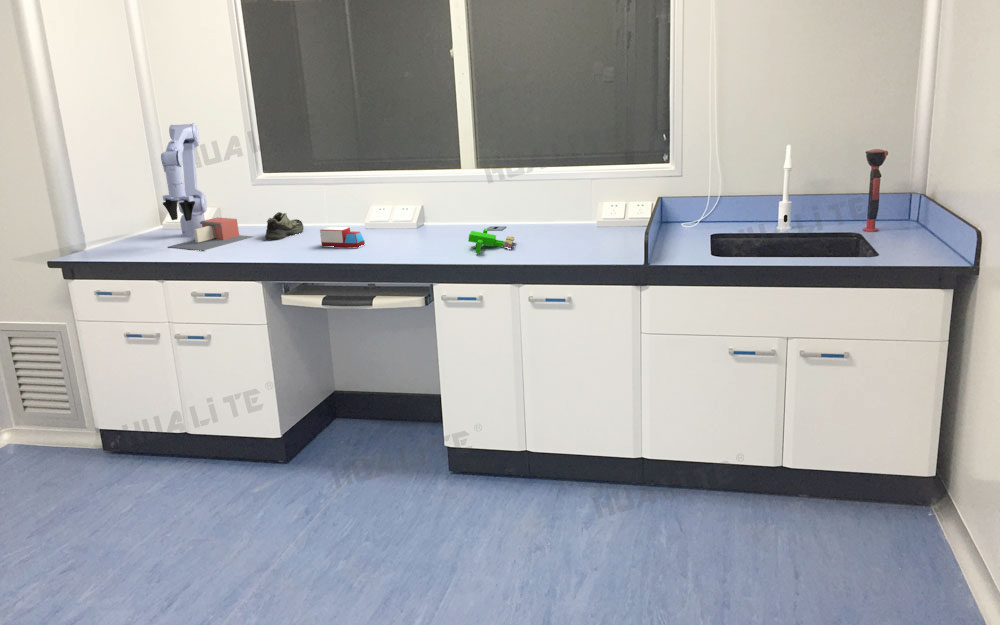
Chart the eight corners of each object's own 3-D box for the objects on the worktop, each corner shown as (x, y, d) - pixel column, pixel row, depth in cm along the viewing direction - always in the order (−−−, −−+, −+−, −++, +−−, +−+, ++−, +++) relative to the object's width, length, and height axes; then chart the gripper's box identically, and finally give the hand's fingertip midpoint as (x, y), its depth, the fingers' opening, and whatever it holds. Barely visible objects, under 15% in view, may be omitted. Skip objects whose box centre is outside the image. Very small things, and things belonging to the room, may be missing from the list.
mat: (167, 247, 309) (167, 246, 309) (219, 234, 330) (219, 233, 330) (203, 251, 299) (203, 250, 299) (254, 237, 320) (254, 236, 320)
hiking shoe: (310, 230, 330) (307, 207, 328) (281, 241, 311) (278, 217, 308) (291, 230, 333) (288, 207, 330) (262, 241, 313) (258, 217, 311)
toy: (513, 247, 293) (472, 239, 294) (515, 234, 292) (474, 226, 292) (507, 262, 272) (463, 254, 272) (510, 248, 270) (466, 239, 271)
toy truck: (357, 249, 291) (355, 230, 289) (321, 247, 297) (319, 229, 295) (365, 245, 296) (363, 227, 294) (329, 244, 302) (327, 226, 300)
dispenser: (202, 238, 321) (199, 221, 319) (219, 234, 328) (217, 217, 326) (222, 240, 315) (219, 223, 313) (239, 235, 323) (237, 218, 321)
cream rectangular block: (195, 242, 313) (193, 229, 311) (218, 236, 322) (216, 223, 320) (198, 242, 312) (196, 229, 310) (220, 236, 321) (219, 224, 319)
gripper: (153, 185, 304) (159, 221, 307) (180, 185, 297) (186, 222, 300) (169, 182, 309) (175, 218, 313) (195, 183, 302) (201, 219, 306)
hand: (181, 220), depth 307 cm, fingers open, 7 cm apart
